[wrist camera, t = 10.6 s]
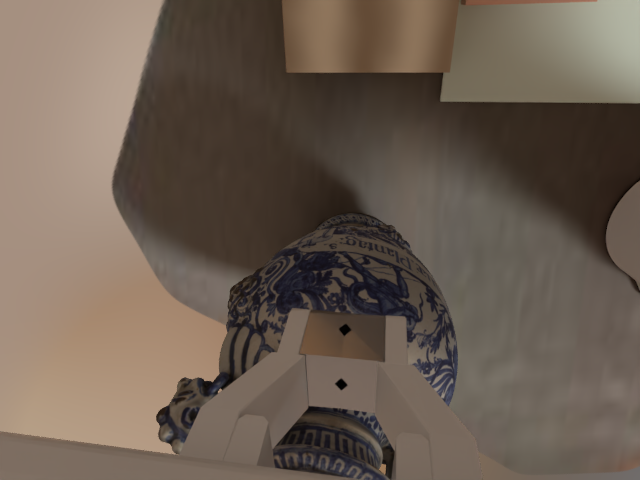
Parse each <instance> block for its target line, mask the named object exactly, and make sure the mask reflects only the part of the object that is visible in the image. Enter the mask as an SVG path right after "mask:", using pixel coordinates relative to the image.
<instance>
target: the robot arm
mask: <svg viewBox="0 0 640 480" xmlns="http://www.w3.org/2000/svg"><path fill="white" fill-rule="evenodd" d="M606 245H607V249H608V252H609V255H610V257H611V259H612V260H613V262H614V263H615V264H616V265H617V266H618V267H619V268H620V269H621V270H622V271H624V272H625V273H627V274H628V275H629V276H631V277H632V278H633V279H634V280H635V281H636V282H637V285H638V288H639V290H640V181H638V182H637V183H636V184H635V185H634V186H633V187H632V188H631V189H630V190H629V191H628V192H627V193H626V194H625V195H624V196H623V198H622V199H621V200H620V201H619V203H618V204H617V206H616V207H615V209H614V211H613V213H612V215H611V217H610V220H609V223H608V226H607V231H606ZM308 406H317V407H329V408H341V409H348V410H355V411H363V412H370V413H375V416H376V418H377V420H378V422H379V424H380V425H381V427H382V429H383V431H384V433H385V435H386V437H387V438H388V440H389V442H390V444H391V446H392V448H393V449H394V451H395V453H394V461H393V470H392V478H391V480H483V476H482V470H481V465H480V460H479V454H478V449H477V443H476V439H475V438H474V437H473V436H472V434H471V433H470V432H469V431H468V430H467V428H466V427H465V426H464V425H463V424H462V422H461V421H460V420H459V419H458V418H457V416H456V415H455V414H454V413H453V412H452V410H451V409H450V408H449V407H448V406H447V404H446V403H445V402H444V401H443V399H442V398H441V397H440V396H439V395H438V393H437V392H436V391H435V390H434V389H433V387H432V386H431V385H430V384H429V383H428V381H427V380H426V379H425V378H424V377H423V375H422V374H421V373H420V372H419V371H418V369H417V368H416V367H415V366H414V365H408V350H407V329H406V318H405V317H403V316H381V315H367V314H353V313H341V312H331V311H321V310H312V309H311V310H308V309H298V308H292V310H291V311H290V313H289V316H288V320H287V323H286V326H285V329H284V332H283V335H282V339H281V342H280V345H279V348H278V351H277V352H271V353H270V354H269V355H267V356H266V357H265V358H263V359H262V360H261V361H260V362H258V363H257V364H256V365H254V366H253V367H252V368H251V369H249V370H248V371H247V372H245V373H244V374H243V375H242V376H240V377H239V378H238V379H236V380H235V381H234V382H233V383H231V384H230V385H229V386H227V387H226V388H225V389H224V390H222V391H221V392H220V393H218V394H217V395H216V396H215V397H213V398H212V399H211V400H209V401H208V402H207V403H206V404H204V405H203V406H202V407H201V408H200V410H199V412H198V415H197V417H196V419H195V421H194V423H193V426H192V428H191V430H190V432H189V434H188V436H187V439H186V441H185V443H184V445H183V447H182V450H181V452H180V454H179V455H173V454H167V453H159V452H152V451H144V450H136V449H129V448H121V447H114V446H106V445H99V444H91V443H84V442H76V441H68V440H61V439H54V438H46V437H39V436H31V435H23V434H16V433H8V432H1V431H0V480H361V479H354V478H346V477H339V476H331V475H324V474H316V473H308V472H301V471H293V470H286V469H278V468H275V465H274V458H273V451H272V449H273V448H274V447H275V446H276V445H277V443H278V442H279V441H280V440H281V439H282V438H283V437H284V435H285V434H286V433H287V432H288V431H289V430H290V428H291V427H292V426H293V425H294V424H295V423H296V421H297V420H298V419H299V418H300V417H301V416H302V415H303V413H304V412H305V411H306V410H307V409H308Z"/></svg>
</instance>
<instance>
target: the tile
mask: <svg viewBox="0 0 640 480" xmlns="http://www.w3.org/2000/svg"><path fill="white" fill-rule="evenodd" d="M569 2H597V0H461V4H462V5H498V4H533V3H569Z"/></svg>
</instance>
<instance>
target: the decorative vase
mask: <svg viewBox="0 0 640 480" xmlns="http://www.w3.org/2000/svg"><path fill="white" fill-rule="evenodd" d="M292 308H298V309H308V310H311V309H312V310H321V311H331V312H341V313H353V314H367V315H381V316H403V317H405V318H406V329H407V350H408V365H414V366H415V367H416V368H417V369H418V371H419V372H420V373H421V374H422V375H423V377H424V378H425V379H426V380H427V381H428V383H429V384H430V385H431V386H432V387H433V389H434V390H435V391H436V392H437V393H438V395H439V396H440V397H441V398H442V399H443V401H444V402H445V403H446V404H447V406H449V404H450V402H451V399H452V396H453V392H454V388H455V383H456V376H457V366H458V354H457V343H456V336H455V331H454V326H453V322H452V318H451V315H450V312H449V309H448V306H447V304H446V301H445V299H444V296H443V294H442V292H441V290H440V288H439V286H438V285H437V283H436V281H435V280H434V278H433V277H432V275H431V274H430V272H429V271H428V270H427V268H426V267H425V266H424V265H423V264H422V263H421V261H420V260H419V259H418V258H417V257H416V256H415V255H413V254H412V251H411V250H410V245H409V243H408V242H407V241H405V240H403V239H402V236H401V235H400V233H398V232H397V231H396V230H395V227H394V226H392V225H385V224H384V223H382V222H380V221H379V220H377V219H375V218H373V217H370V216H367V215H362V214H355V213H347V214H341V215H337V216H334V217H332V218H329V219H328V220H326V221H324V222H323V223H321V224H320V225H319V226H318V227H317V228H316V230H315V231H314V232H312V233H309V234H307V235H305V236H303V237H301V238H299V239H297V240H295V241H294V242H292V243H290V244H289V245H287V246H286V247H284V248H283V249H282V250H280V251H279V252H278V253H276V254H275V255H274V256H273V257H272V258H271V259H270V260H269V261H268V262H267V263H266V264H265V265H264V266H263V268H260V269H258V270H257V271H256V272H255V273H254V274H253V275H250V276H248V277H246V278H244V279H243V280H242V281H240V282H239V283H237V284H236V285H234V286H233V287H232V288H231V290H230V299H229V301H228V309H229V312H228V322H227V325H226V328H227V332H228V333H227V335H226V337H225V340H224V342H223V344H222V348H221V352H220V358H219V372H220V374H219V375H218V376H217V378H216V379H215V380H214V382H211V381H204V380H203V379H202V378H195V379H193V380H192V379H188V378H182V379H181V380H180V381H179V382H178V385H177V392H176V394H175V395H174V397H173V399H172V401H171V402H170V404H169V405H168V406H166V407H164V408H162V409H161V410H160V411H159V412H158V414H157V416H156V420H157V422H158V423H159V425H160V430H159V433H158V435H159V439H160V440H161V441H163V442H166V443H169V444H171V446H172V450H173V451H174V453H176V454H178V455H179V454H180V452H181V450H182V447H183V445H184V443H185V441H186V439H187V436H188V434H189V432H190V430H191V428H192V426H193V423H194V421H195V419H196V417H197V415H198V412H199V410H200V408H201V407H202V406H203V405H204V404H206V403H207V402H208V401H209V400H211V399H212V398H213V397H215V396H216V395H217V394H218V391H219V389H220V388H221V389H222V390H224V389H225V388H226V387H227V386H229V385H230V384H231V383H233V382H234V381H235V380H236V379H238V378H239V377H240V376H242V375H243V374H244V373H245V372H247V371H248V370H249V369H251V368H252V367H253V366H254V365H256V364H257V363H258V362H260V361H261V360H262V359H263V358H265V357H266V356H267V355H269V354H270V353H271V352H277V351H278V348H279V345H280V342H281V339H282V335H283V332H284V329H285V326H286V323H287V320H288V316H289V313H290V311H291V310H292ZM272 451H273V458H274V465H275V468H278V469H286V470H293V471H301V472H308V473H316V474H324V475H331V476H339V477H346V478H354V479H361V480H391V478H392V470H393V461H394V453H395V451H394V449H393V448H392V446H391V444H390V442H389V440H388V438H387V437H386V435H385V433H384V431H383V429H382V427H381V425H380V424H379V422H378V420H377V418H376V416H375V413H370V412H363V411H355V410H348V409H341V408H329V407H317V406H308V409H307V410H306V411H305V412H304V413H303V415H302V416H301V417H300V418H299V419H298V420H297V421H296V423H295V424H294V425H293V426H292V427H291V428H290V430H289V431H288V432H287V433H286V434H285V435H284V437H283V438H282V439H281V440H280V441H279V442H278V443H277V445H276V446H275V447H274V448H273V449H272ZM381 464H386V474H385V475H384V474H383V473H382V472H381V471H380V470H379V468H380V467H381Z"/></svg>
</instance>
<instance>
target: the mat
mask: <svg viewBox="0 0 640 480" xmlns="http://www.w3.org/2000/svg"><path fill="white" fill-rule="evenodd" d="M440 102H552V103H640V0H597V2H569V3H533V4H498V5H462V4H461V0H459V6H458V14H457V22H456V29H455V37H454V45H453V52H452V60H451V68H450V73H443V79H442V87H441V96H440Z"/></svg>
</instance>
